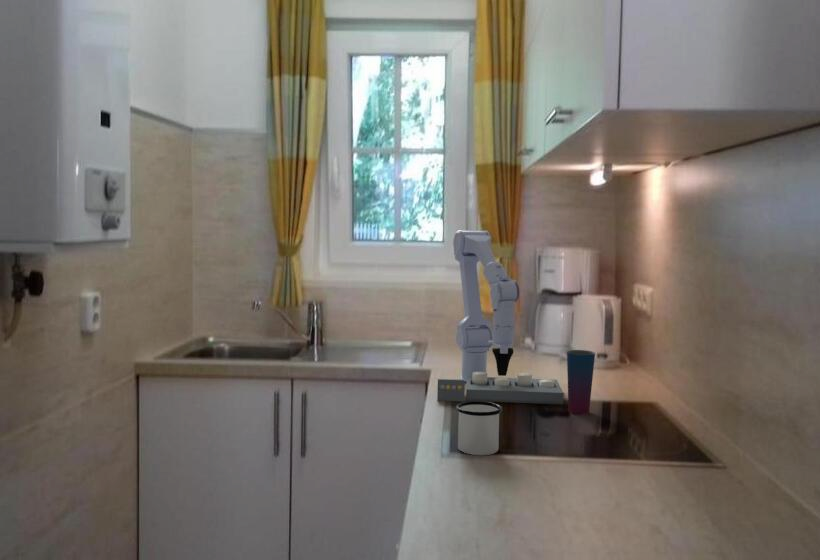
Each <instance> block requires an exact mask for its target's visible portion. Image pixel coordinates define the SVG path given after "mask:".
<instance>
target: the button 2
mask: <svg viewBox="0 0 820 560" xmlns="http://www.w3.org/2000/svg"><path fill="white" fill-rule="evenodd" d="M507 378H508V377H496V379H495V384H494V385H500V386H509V379H507Z"/></svg>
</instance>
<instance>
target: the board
mask: <svg viewBox="0 0 820 560" xmlns="http://www.w3.org/2000/svg"><path fill="white" fill-rule="evenodd" d="M496 378H497V377H496V376H495V377H491V376H487V385H472V377H468V376H467V382H466V390H465V393H466V394H465V395H466V397H465V398H466V400H465V402H469V401H482V402H490V403H517V404H545V405H564V391H563V389H562V387H561V385H560V383H559V382H558V379H552V378H551V379H549V378H548V379H547V378H544V379H546V380H553V381H554V387H539V380H544V379H543V378H532V387H528V386H517V377H506V378H507V379H509V386H500V385H494V384H495V379H496Z"/></svg>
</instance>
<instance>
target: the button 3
mask: <svg viewBox="0 0 820 560" xmlns="http://www.w3.org/2000/svg"><path fill="white" fill-rule="evenodd" d="M516 374H517V375H516V378H517V386H528V387H532V379H533V374H530V373H527V372H526V373H524V372H523V373H522V372H521V373H516Z"/></svg>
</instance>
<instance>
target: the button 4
mask: <svg viewBox="0 0 820 560" xmlns="http://www.w3.org/2000/svg"><path fill="white" fill-rule="evenodd" d="M546 379H547V378H544V380H539V387H554V381H553V380H554V379H553V380H546Z"/></svg>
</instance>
